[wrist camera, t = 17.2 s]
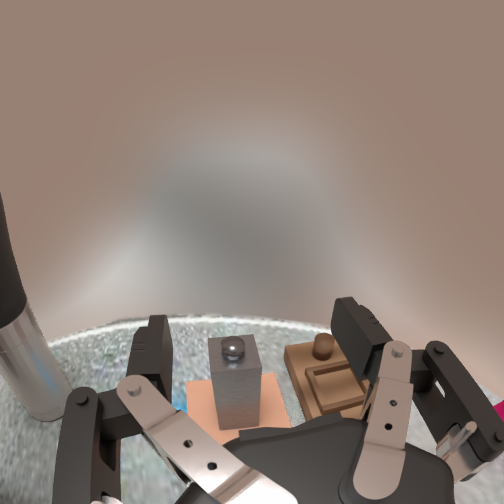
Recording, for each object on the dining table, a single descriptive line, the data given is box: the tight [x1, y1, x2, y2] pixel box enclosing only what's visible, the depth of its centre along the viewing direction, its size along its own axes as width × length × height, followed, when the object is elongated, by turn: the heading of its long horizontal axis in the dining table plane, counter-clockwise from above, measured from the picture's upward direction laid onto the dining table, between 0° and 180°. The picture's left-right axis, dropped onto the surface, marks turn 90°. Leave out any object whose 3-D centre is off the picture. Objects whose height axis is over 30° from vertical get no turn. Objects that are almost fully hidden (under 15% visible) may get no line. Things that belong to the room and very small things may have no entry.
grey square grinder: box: [208, 334, 262, 431], centre depth 31 cm, size 5×5×13 cm
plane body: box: [284, 333, 370, 422], centre depth 35 cm, size 20×10×6 cm, turn 10°
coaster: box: [186, 373, 292, 445], centre depth 34 cm, size 13×13×1 cm
